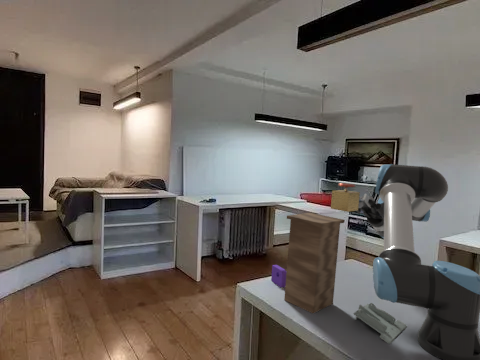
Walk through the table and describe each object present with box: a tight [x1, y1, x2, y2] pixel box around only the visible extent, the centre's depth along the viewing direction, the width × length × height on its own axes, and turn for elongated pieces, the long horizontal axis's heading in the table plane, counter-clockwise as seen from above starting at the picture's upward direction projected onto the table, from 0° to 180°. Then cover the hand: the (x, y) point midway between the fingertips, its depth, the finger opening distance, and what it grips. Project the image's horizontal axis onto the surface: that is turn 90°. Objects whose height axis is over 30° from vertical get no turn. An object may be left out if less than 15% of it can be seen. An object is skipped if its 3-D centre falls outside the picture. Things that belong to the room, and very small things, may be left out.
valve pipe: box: [330, 182, 375, 213], centre depth 130 cm, size 24×7×10 cm, turn 133°
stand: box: [283, 212, 345, 314], centre depth 113 cm, size 14×14×30 cm
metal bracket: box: [353, 302, 408, 345], centre depth 100 cm, size 14×6×15 cm
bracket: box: [270, 264, 287, 288], centre depth 131 cm, size 12×7×7 cm, turn 118°
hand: (358, 195), depth 131 cm, fingers closed on valve pipe, 4 cm apart
